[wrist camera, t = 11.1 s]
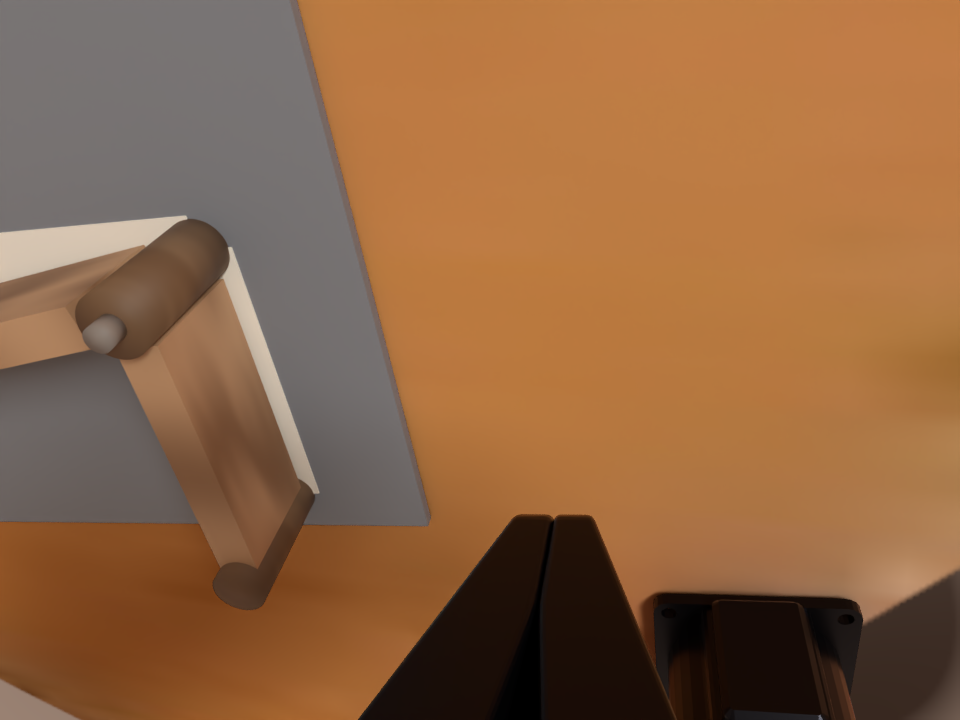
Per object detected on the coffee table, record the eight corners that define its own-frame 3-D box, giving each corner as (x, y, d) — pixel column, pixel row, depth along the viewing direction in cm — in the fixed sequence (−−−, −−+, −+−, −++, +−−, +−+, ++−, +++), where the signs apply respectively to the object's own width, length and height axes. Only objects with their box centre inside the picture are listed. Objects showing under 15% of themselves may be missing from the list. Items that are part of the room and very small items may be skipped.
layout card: (430, 517, 26) (428, 526, 25) (-30, 513, 30) (-38, 521, 29) (168, -496, 13) (155, -506, 13) (-563, -252, 17) (-588, -254, 17)
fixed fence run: (327, 502, 26) (266, 628, 22) (279, 501, 26) (211, 625, 22) (223, 210, 20) (115, 303, 16) (165, 215, 21) (45, 307, 17)
